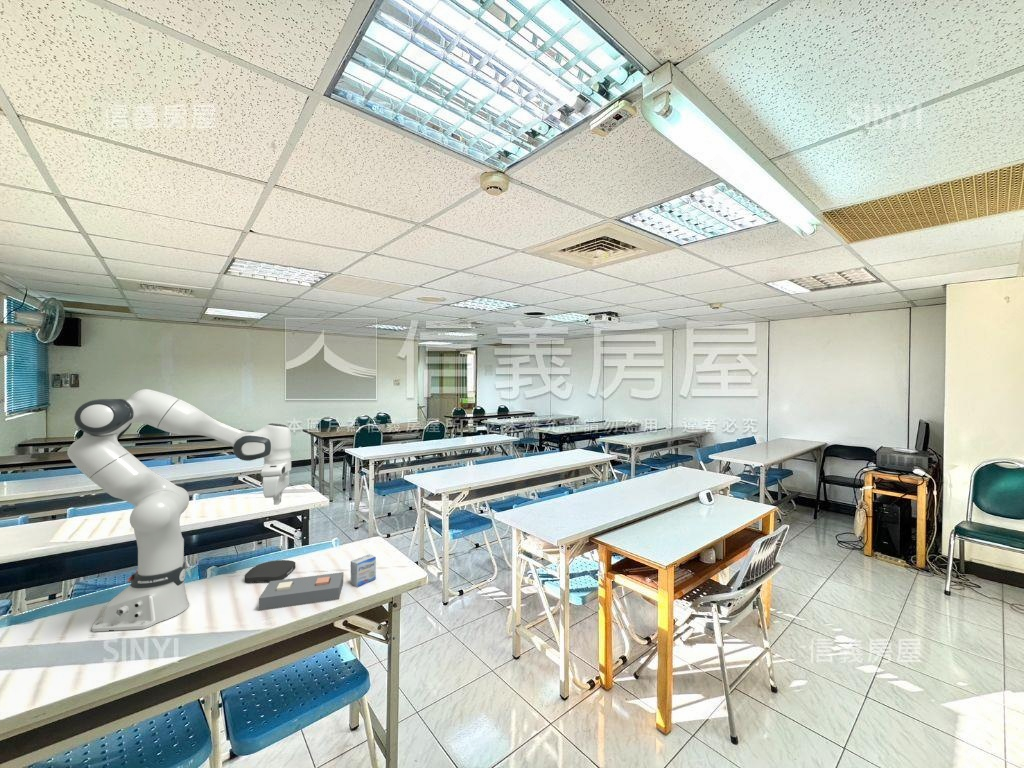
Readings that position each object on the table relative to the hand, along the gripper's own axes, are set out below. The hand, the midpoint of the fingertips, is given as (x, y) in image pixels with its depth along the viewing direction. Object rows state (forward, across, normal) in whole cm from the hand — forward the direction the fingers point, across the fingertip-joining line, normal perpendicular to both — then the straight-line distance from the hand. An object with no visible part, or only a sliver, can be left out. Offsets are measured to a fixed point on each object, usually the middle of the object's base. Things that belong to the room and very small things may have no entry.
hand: (277, 503), depth 147 cm
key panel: (+29, +14, +12) cm, 34 cm away
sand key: (+27, +14, +6) cm, 31 cm away
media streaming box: (+30, -8, -4) cm, 31 cm away
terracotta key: (+27, +14, +18) cm, 36 cm away
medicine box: (+29, +9, +31) cm, 44 cm away
